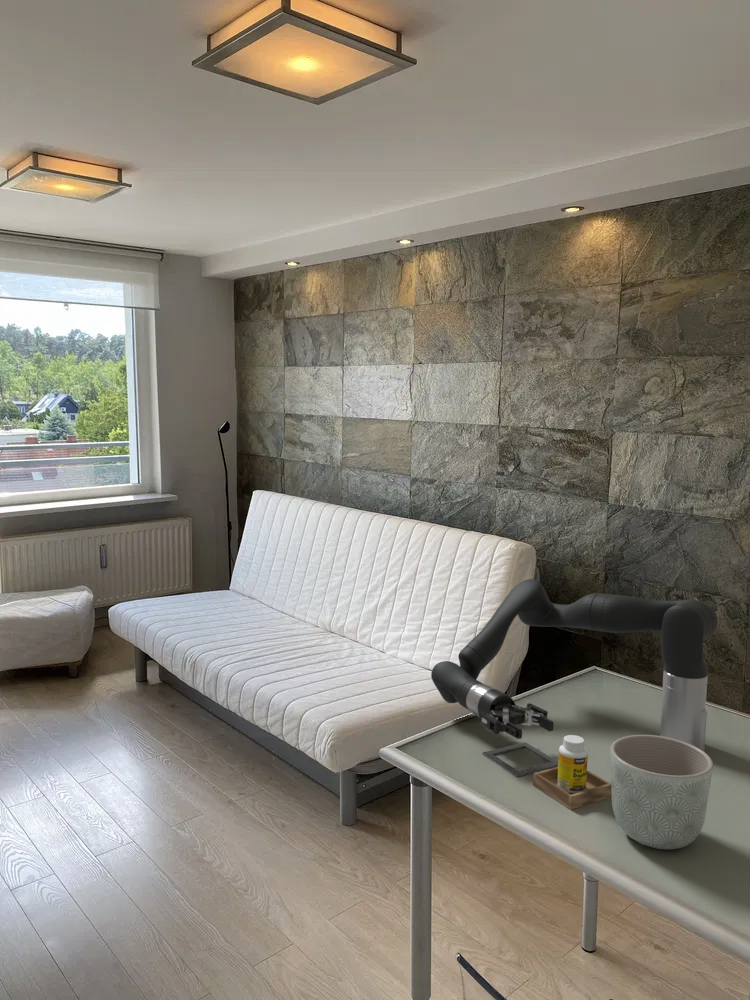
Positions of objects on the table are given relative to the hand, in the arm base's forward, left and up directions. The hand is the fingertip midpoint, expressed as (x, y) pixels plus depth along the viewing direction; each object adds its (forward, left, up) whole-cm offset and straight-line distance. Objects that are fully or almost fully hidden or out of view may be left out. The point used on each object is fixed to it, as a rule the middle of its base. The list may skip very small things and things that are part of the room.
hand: (536, 730), depth 161 cm
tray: (-8, +8, -8) cm, 14 cm away
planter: (-23, +20, -8) cm, 31 cm away
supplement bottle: (-8, +8, -8) cm, 13 cm away
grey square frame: (+3, -3, -8) cm, 9 cm away
